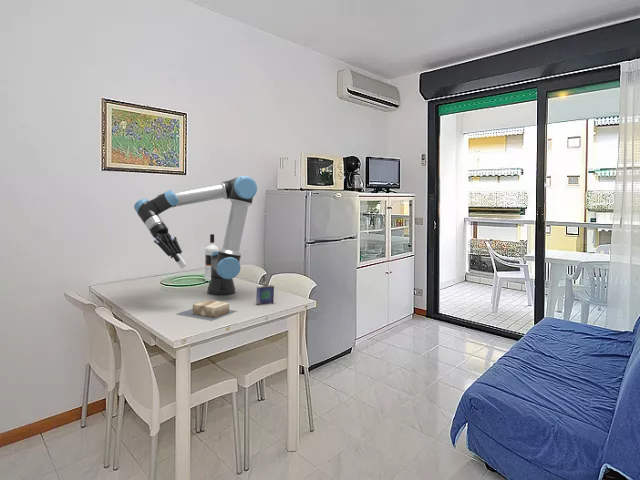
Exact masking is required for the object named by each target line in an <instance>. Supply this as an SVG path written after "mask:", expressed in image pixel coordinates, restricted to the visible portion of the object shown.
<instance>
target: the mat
mask: <svg viewBox="0 0 640 480" xmlns="http://www.w3.org/2000/svg"><path fill="white" fill-rule="evenodd" d="M237 312H238V311H237V310H234V309H229V313H226V314H224V315H221V316H218V317H215V318H213V317H207V316H202V315H196V314H193V308H191V309H187V310H184V311H181V312H177V313H176V315H177V316H182V317H183V316H184V317H186V318H187V317H188V318H193V319H199V320H205V321H209V322H212V321H216V320H219V319H221V318H224V317H226V316H229V315H231V314H232V315H233V314H234V313H237Z"/></svg>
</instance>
